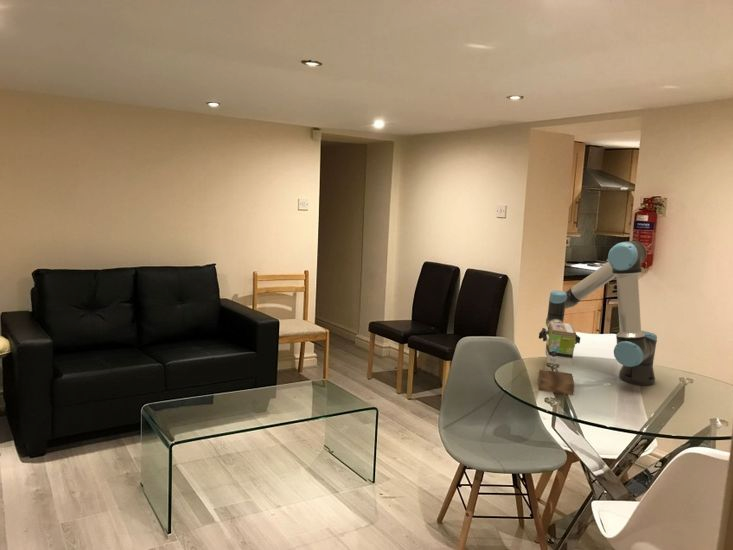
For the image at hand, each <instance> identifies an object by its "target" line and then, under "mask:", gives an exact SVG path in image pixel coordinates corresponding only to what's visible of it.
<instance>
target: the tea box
mask: <svg viewBox="0 0 733 550" xmlns="http://www.w3.org/2000/svg"><path fill="white" fill-rule="evenodd" d="M547 330H548V335H549V345H547V343H546V344H545V356H546V360H547V363H549V364H553V365H554V364H555V365H561V366H562V365H563V366H572V365H573V359H574V358H573V357H574V350H575V348H574V345H575V346H576V344H575V339H576V335H577V332H576V330H575V327H574V326H573V324H571V323H564V322H563V323H557V322H549V328H547Z"/></svg>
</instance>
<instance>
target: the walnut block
mask: <svg viewBox="0 0 733 550" xmlns="http://www.w3.org/2000/svg"><path fill="white" fill-rule="evenodd" d="M537 379H538V391H544V392H551V393H557V394H564V395H571V396H573V395H574V392H575V391H574V390H575V380H574V376H573V373H571V372H570V373H569V372H562V371H554V370H548V369H539V371H538V378H537Z"/></svg>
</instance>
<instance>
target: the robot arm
mask: <svg viewBox="0 0 733 550" xmlns="http://www.w3.org/2000/svg"><path fill="white" fill-rule="evenodd" d="M647 253H648V251H647V248H646V247H645V245H644V244H643V243H641V242H640V241H638V240H627V241H622V242H618V243H616V244H615V245H613V246H612V247H611V248H610V250H609V252H608V255H607V262H606V263H605V264H603V265H602V266H600V267H599V268H598V269H596V270H594V271H593V272H592V273H591V274H589V275H588V276H586V277H585V278H583V279H582V280H581V281H579V282H578V283H576V284H575V285H573V286H572V287H571V288H569V289H567V290H566V291H562V290H552V291H551V292H550V293H549V297H548V309H547V310H548V311H547V316H546V318H545V326H546V327H547V328H545V327H542V329H541V331H540V332H539V333H538V339H542V341H543V342H546V343H547V345H549V335H548V328H549V322H557V323H564V318H565V313H566V310H567V309H570V308H573V307H575V306H577V305H578V304H579V303H580V302H581V301H582V300H584V299H585V298H587V297H588V296H591V294H593V293H594V292H596V291H597V290H598V289H600V288H601V287H603V286H604V285H606V284H608V283H609V282H610V281H612V280H613V279H616V290H617V306H618V307H617V308H618V323H619V325H618V326H619V331H618V333H616V335H615V337H616V344H615V346H614V349H613V356H614V358H615V360H616V362H618V363H619V364H621V365H622V366H621V368H620V370H619V373H618V377H619V379H620V380H622V381H624V382H626V383H629V384H631V385H632V384H634V385H637V386H652V385H655V381H656V376H655V371H654V360H655V353H656V348H657V347H656V346H657V342H658V336H657V334H655V333H653V332H649V331H646V330H642V325H641V323H642V322H641V307H640V290H639V288H640V287H639V275H641V274H642V270H643V269H642V264H643V263H644V262H645V260H646V259H647V256H648V254H647ZM580 342H581V337H580V336H579V335H577V334H576V339H575V345H574V349H575V348H576V345H577V344H580Z"/></svg>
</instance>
